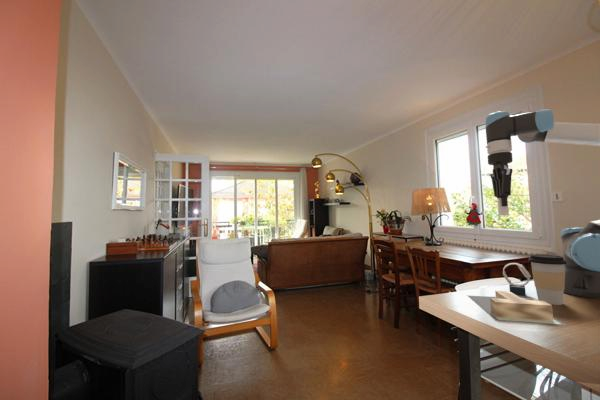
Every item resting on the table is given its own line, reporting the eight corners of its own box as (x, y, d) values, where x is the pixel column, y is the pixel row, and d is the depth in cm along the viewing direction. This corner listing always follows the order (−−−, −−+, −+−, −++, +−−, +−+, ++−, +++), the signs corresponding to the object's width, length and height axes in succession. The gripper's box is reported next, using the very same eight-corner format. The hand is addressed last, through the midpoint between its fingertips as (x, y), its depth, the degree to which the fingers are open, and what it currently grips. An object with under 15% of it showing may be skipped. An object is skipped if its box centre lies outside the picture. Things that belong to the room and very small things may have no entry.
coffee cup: (579, 307, 83) (575, 257, 84) (548, 307, 84) (544, 258, 84) (551, 298, 93) (548, 253, 94) (523, 298, 93) (520, 254, 94)
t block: (527, 305, 85) (526, 292, 85) (553, 320, 73) (552, 305, 73) (480, 302, 89) (479, 290, 89) (496, 316, 76) (495, 302, 76)
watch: (533, 298, 93) (530, 265, 94) (503, 294, 98) (501, 263, 99) (531, 294, 98) (529, 263, 99) (504, 290, 103) (502, 261, 103)
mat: (520, 299, 92) (520, 298, 92) (568, 326, 69) (568, 325, 69) (467, 296, 97) (467, 295, 97) (495, 321, 74) (495, 320, 74)
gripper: (481, 157, 111) (485, 215, 110) (495, 150, 99) (499, 215, 97) (503, 156, 109) (507, 215, 108) (519, 148, 97) (524, 215, 95)
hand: (503, 215), depth 102 cm, fingers closed
